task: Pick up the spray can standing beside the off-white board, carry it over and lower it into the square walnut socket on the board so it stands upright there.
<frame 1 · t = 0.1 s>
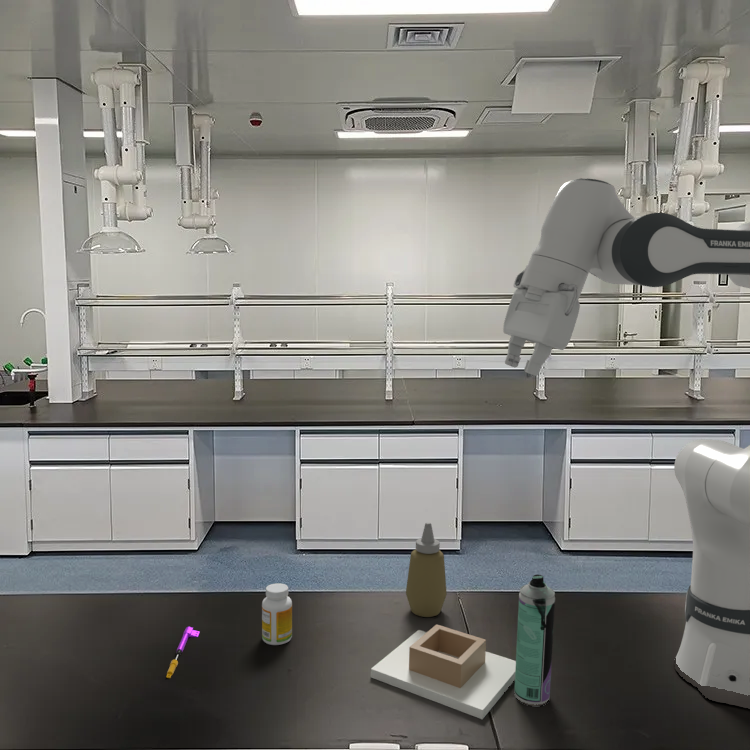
hand: (519, 369, 109), 52 cm above the countertop, tool tilted 20°, fingers open, 8 cm apart
spray can: (531, 697, 113), on the countertop
socket board: (447, 674, 119), on the countertop
supplement bottle: (277, 639, 130), on the countertop
squeeze bottle: (425, 612, 142), on the countertop
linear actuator: (183, 655, 125), on the countertop
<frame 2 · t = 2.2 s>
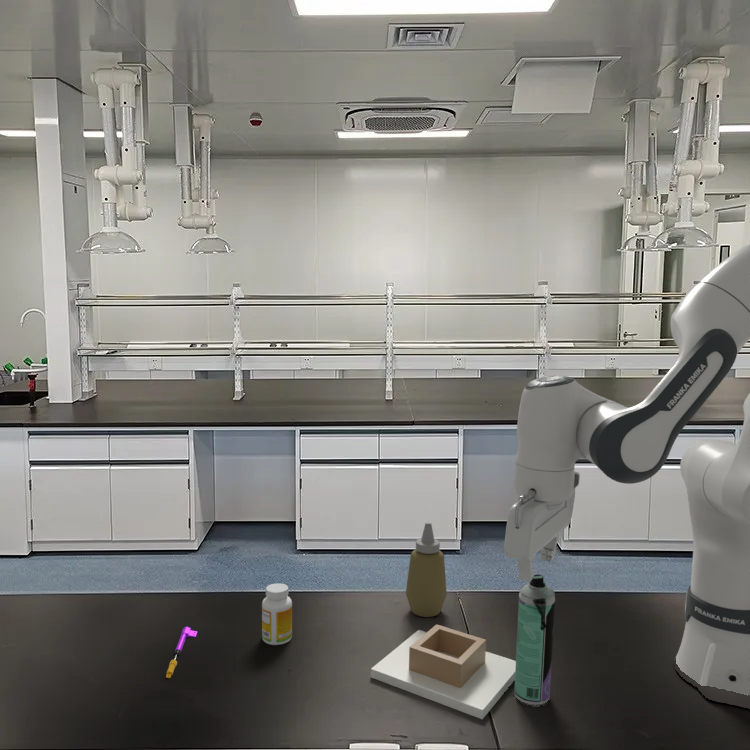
hand: (536, 569, 110), 21 cm above the countertop, tool pointing down, fingers open, 8 cm apart
nothing on the countertop moved.
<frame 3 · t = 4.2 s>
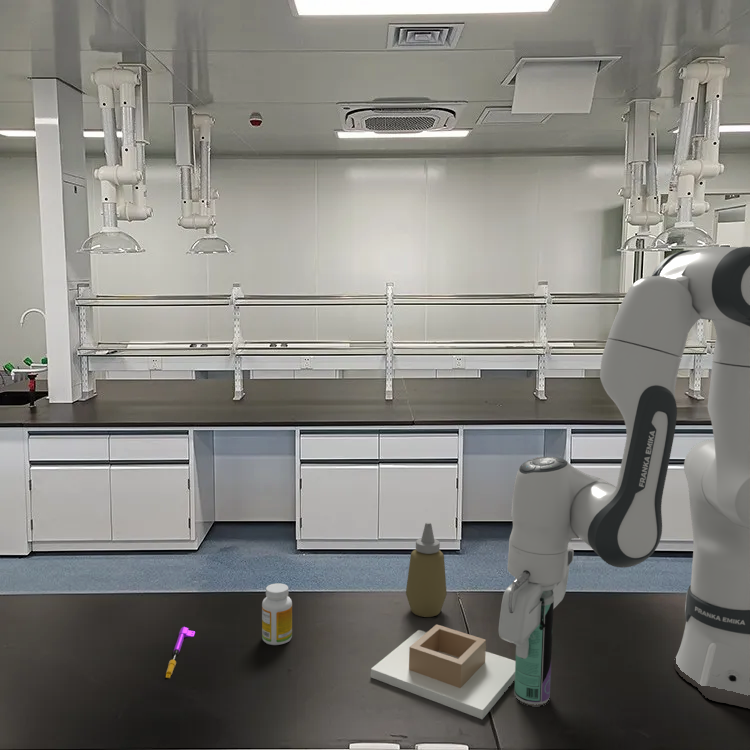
hand: (531, 646, 112), 8 cm above the countertop, tool pointing down, fingers open, 6 cm apart
spray can: (531, 697, 113), on the countertop, touching arm, gripper
everything else where it was.
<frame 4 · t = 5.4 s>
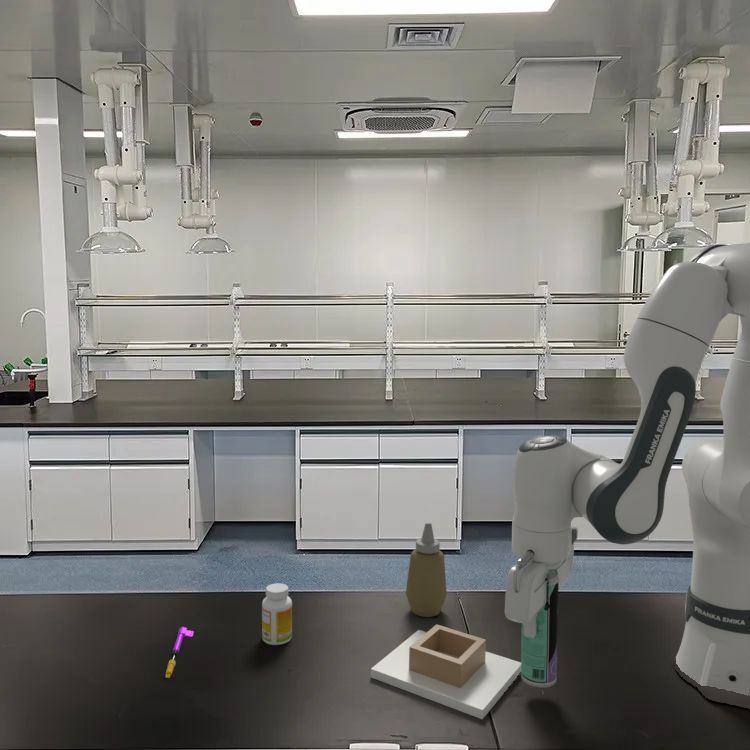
hand: (538, 625, 112), 12 cm above the countertop, tool pointing down, fingers closed on spray can, 5 cm apart
spray can: (538, 679, 113), point 3 cm above the countertop, touching gripper
everything else where it was.
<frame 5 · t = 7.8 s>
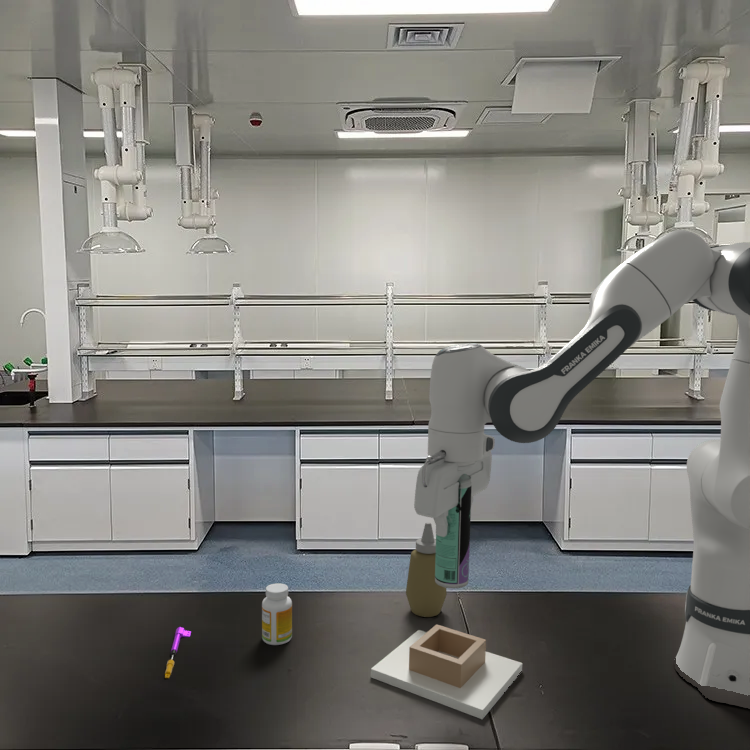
hand: (452, 528, 116), 25 cm above the countertop, tool pointing down, fingers closed on spray can, 5 cm apart
spray can: (451, 582, 117), point 16 cm above the countertop, touching gripper
everything else where it was.
when the fingers open (11 cm above the countertop, at t = 10.6 s): spray can stays where it is, resting on socket board.
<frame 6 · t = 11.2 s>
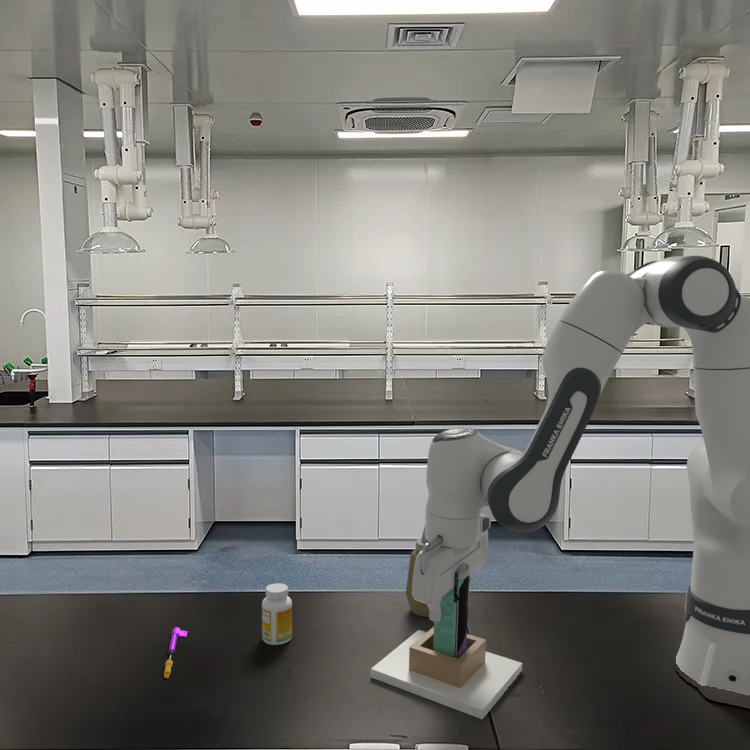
hand: (449, 608, 118), 12 cm above the countertop, tool pointing down, fingers open, 8 cm apart
spray can: (449, 667, 119), point 1 cm above the countertop, touching socket board
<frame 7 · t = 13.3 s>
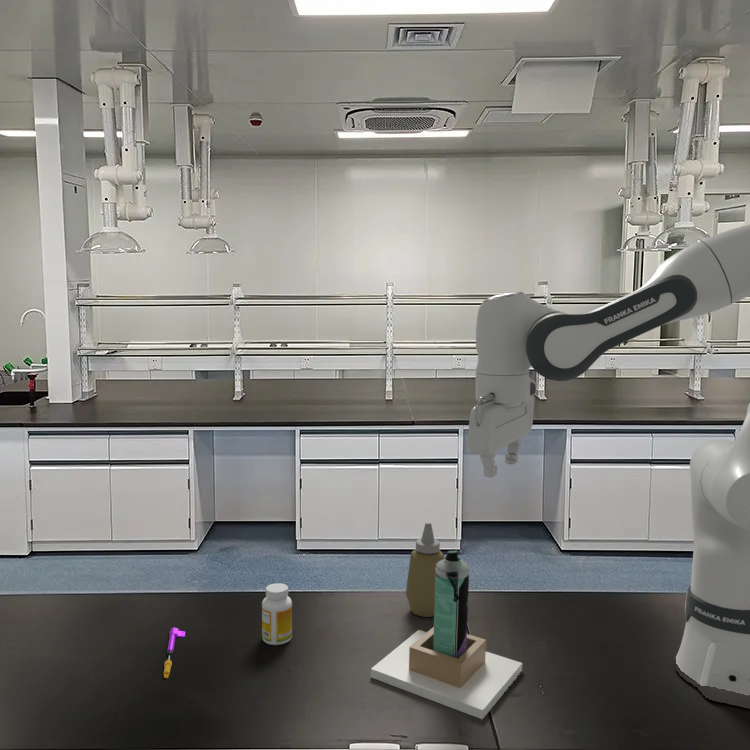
hand: (501, 469, 122), 33 cm above the countertop, tool pointing down, fingers open, 8 cm apart
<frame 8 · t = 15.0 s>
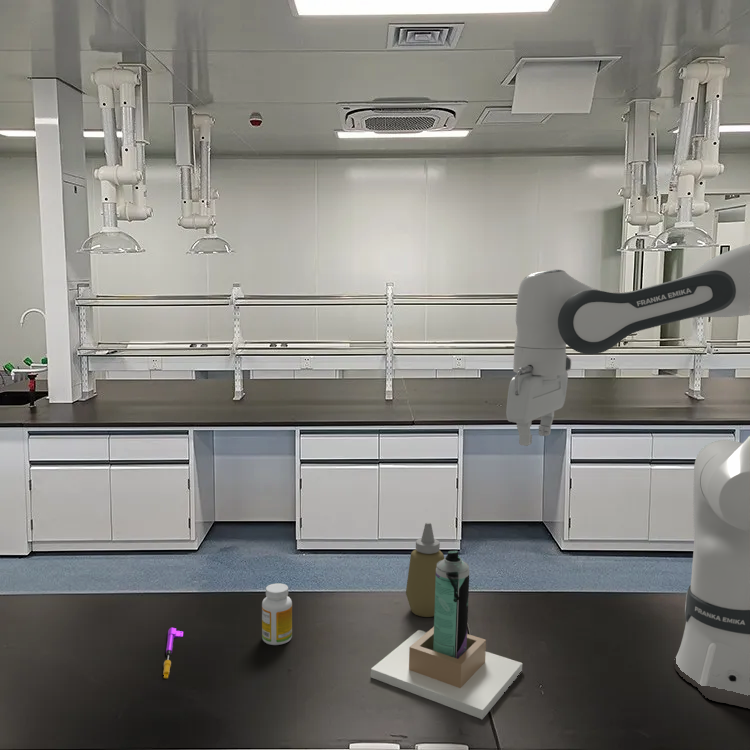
hand: (535, 440, 128), 37 cm above the countertop, tool pointing down, fingers open, 8 cm apart
at the end: spray can 0.3 cm off-centre on the socket board, point 1.3 cm above the socket board's base; spray can tilted 0°; the gripper is holding nothing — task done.
